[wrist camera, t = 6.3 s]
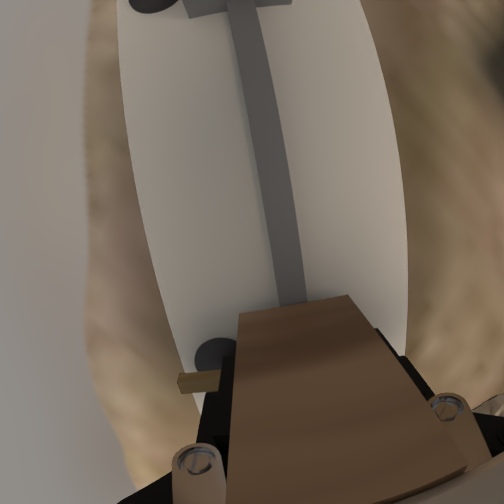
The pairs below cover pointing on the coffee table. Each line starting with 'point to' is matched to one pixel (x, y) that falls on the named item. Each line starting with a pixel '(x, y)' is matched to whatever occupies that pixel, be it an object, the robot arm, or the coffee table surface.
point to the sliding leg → (325, 412)
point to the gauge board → (262, 164)
